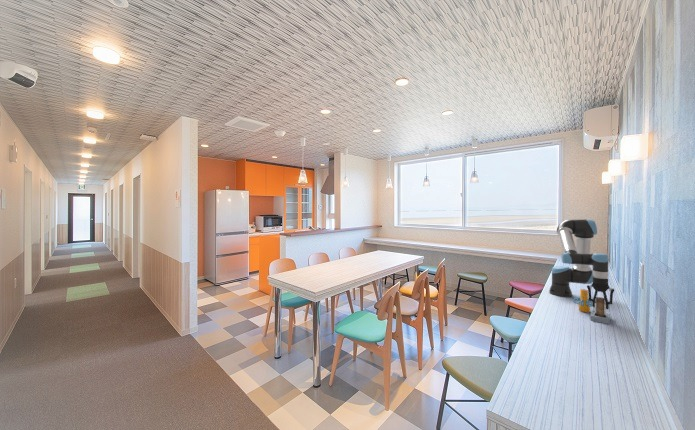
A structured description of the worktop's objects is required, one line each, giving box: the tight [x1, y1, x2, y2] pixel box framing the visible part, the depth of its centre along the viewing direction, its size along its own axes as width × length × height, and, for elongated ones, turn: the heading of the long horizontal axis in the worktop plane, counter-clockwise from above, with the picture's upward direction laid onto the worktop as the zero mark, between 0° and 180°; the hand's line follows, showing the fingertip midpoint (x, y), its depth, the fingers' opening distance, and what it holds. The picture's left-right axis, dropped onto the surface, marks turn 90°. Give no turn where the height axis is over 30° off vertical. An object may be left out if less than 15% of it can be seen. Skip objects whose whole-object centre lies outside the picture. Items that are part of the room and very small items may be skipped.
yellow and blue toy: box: [572, 288, 593, 313], centre depth 194 cm, size 12×10×15 cm
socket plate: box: [590, 310, 611, 325], centre depth 179 cm, size 12×9×3 cm
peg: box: [595, 296, 605, 317], centre depth 178 cm, size 4×4×14 cm
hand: (600, 312), depth 178 cm, fingers closed on peg, 4 cm apart
